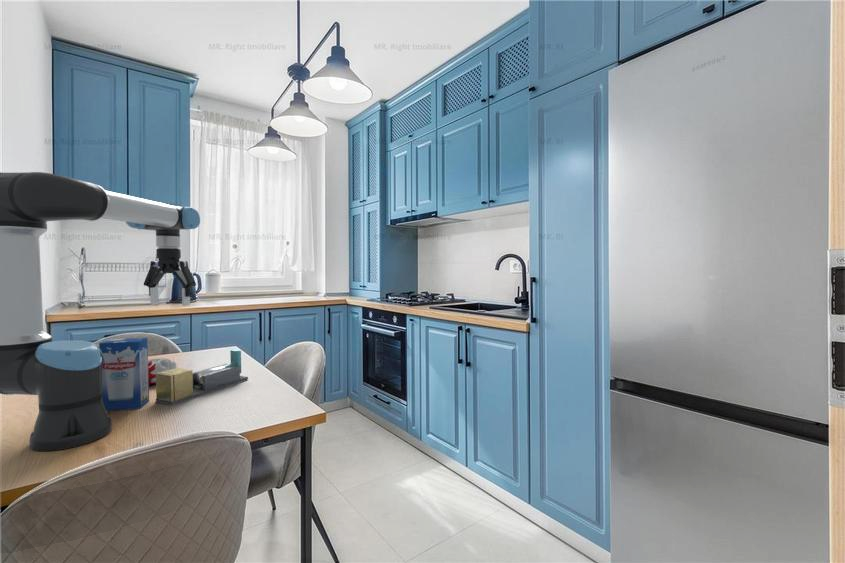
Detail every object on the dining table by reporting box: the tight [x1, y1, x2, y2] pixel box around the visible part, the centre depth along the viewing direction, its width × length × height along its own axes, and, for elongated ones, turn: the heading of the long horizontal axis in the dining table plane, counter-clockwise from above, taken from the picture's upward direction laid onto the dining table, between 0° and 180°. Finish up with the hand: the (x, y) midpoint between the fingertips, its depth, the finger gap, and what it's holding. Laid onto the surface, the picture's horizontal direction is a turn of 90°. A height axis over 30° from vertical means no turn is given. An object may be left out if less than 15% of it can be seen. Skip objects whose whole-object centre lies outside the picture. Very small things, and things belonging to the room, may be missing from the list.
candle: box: [148, 357, 178, 386], centre depth 139 cm, size 9×11×15 cm
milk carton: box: [98, 337, 150, 412], centre depth 117 cm, size 10×6×20 cm, turn 105°
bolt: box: [195, 349, 242, 384], centre depth 138 cm, size 16×4×8 cm, turn 157°
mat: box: [155, 375, 249, 406], centre depth 133 cm, size 29×8×1 cm, turn 157°
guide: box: [155, 363, 241, 402], centre depth 131 cm, size 25×7×8 cm, turn 157°
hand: (170, 305), depth 146 cm, fingers open, 13 cm apart
